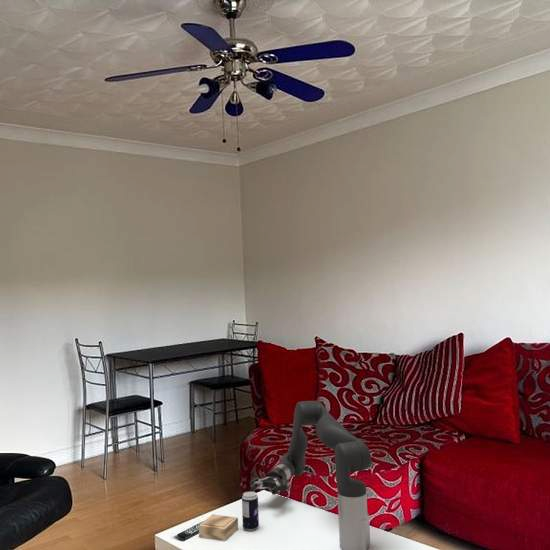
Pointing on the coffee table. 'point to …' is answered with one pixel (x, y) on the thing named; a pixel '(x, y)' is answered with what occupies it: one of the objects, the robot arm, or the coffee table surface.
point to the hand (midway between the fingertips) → (262, 490)
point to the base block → (218, 527)
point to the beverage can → (250, 511)
